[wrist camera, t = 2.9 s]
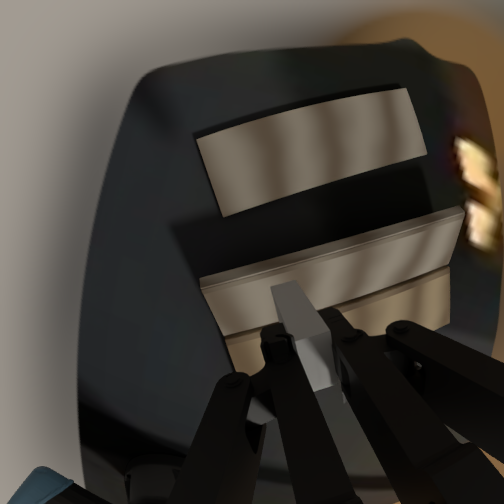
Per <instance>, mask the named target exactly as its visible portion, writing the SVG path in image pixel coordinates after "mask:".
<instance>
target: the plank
mask: <svg viewBox="0 0 504 504" xmlns="http://www.w3.org/2000/svg"><path fill="white" fill-rule="evenodd" d="M196 140H197V143H198V146H199V149H200V152H201V155H202V158H203V161H204V163H205V166H206V169H207V172H208V175H209V178H210V181H211V184H212V187H213V189H214V192H215V195H216V198H217V201H218V204H219V207H220V210H221V212H222V215H223V217H226V216H229V215H232V214H235V213H238V212H241V211H243V210H246V209H249V208H252V207H255V206H258V205H261V204H264V203H267V202H270V201H273V200H276V199H279V198H282V197H285V196H288V195H291V194H294V193H298V192H301V191H304V190H307V189H310V188H313V187H316V186H320V185H323V184H326V183H329V182H332V181H336V180H339V179H342V178H346V177H349V176H352V175H355V174H359V173H362V172H366V171H369V170H372V169H376V168H379V167H383V166H386V165H390V164H393V163H397V162H400V161H404V160H408V159H411V158H415V157H419V156H422V155H426V154H427V151H426V147H425V144H424V140H423V137H422V134H421V130H420V127H419V124H418V121H417V118H416V115H415V112H414V109H413V106H412V103H411V100H410V98H409V95H408V92H407V90H406V88H404V89H396V90H389V91H382V92H376V93H370V94H364V95H359V96H353V97H348V98H343V99H338V100H333V101H328V102H324V103H319V104H315V105H311V106H306V107H302V108H298V109H294V110H290V111H286V112H283V113H279V114H275V115H272V116H268V117H265V118H261V119H258V120H254V121H251V122H248V123H244V124H241V125H238V126H235V127H232V128H229V129H225V130H222V131H219V132H216V133H214V134H211V135H208V136H205V137H202V138H199V139H196Z"/></svg>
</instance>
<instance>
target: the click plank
mask: <svg viewBox="0 0 504 504" xmlns="http://www.w3.org/2000/svg"><path fill="white" fill-rule="evenodd" d="M464 216H465V211H464V210H463V209H462V208H461V207H460V206H455V207H452V208H449V209H445V210H442V211H438V212H435V213H432V214H428V215H425V216H421V217H418V218H414V219H411V220H407V221H404V222H400V223H397V224H394V225H390V226H387V227H383V228H380V229H376V230H373V231H369V232H365V233H362V234H358V235H355V236H351V237H348V238H344V239H341V240H337V241H334V242H330V243H326V244H323V245H319V246H316V247H312V248H308V249H305V250H301V251H298V252H294V253H290V254H287V255H283V256H279V257H276V258H272V259H268V260H265V261H261V262H257V263H254V264H250V265H246V266H243V267H239V268H235V269H232V270H228V271H224V272H220V273H217V274H213V275H209V276H205V277H202V278H200V288H201V291H202V293H203V294H204V297H205V299H206V301H207V303H208V305H209V307H210V309H211V311H212V313H213V315H214V317H215V319H216V321H217V323H218V325H219V327H220V329H221V331H222V333H223V335H224V336H226V335H230V334H234V333H238V332H241V331H245V330H249V329H253V328H257V327H260V326H264V325H268V324H271V323H275V322H279V320H278V316H277V312H276V308H275V304H274V300H273V296H272V292H271V289H270V287H271V286H274V285H278V284H282V283H285V282H289V281H292V280H296V282H297V283H298V284H299V286H300V287H301V289H302V290H303V292H304V293H305V295H306V296H307V297H308V299H309V300H310V302H311V303H312V305H313V306H314V308H315V309H316V310H319V309H323V308H326V307H329V306H332V305H335V304H339V303H342V302H345V301H348V300H351V299H354V298H357V297H360V296H363V295H366V294H369V293H372V292H375V291H378V290H380V289H383V288H386V287H389V286H392V285H394V284H397V283H400V282H403V281H405V280H408V279H411V278H413V277H416V276H419V275H421V274H424V273H427V272H429V271H432V270H434V269H437V268H439V267H442V266H444V265H447V264H449V261H450V258H451V255H452V252H453V250H454V247H455V244H456V241H457V237H458V234H459V231H460V228H461V225H462V221H463V218H464Z"/></svg>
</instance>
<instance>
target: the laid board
mask: <svg viewBox="0 0 504 504" xmlns="http://www.w3.org/2000/svg"><path fill="white" fill-rule="evenodd" d="M330 307H333V308H335V309H338V310H339V311H340V312H341V313H342V315H343V316H344V317H345V318H346V319H347V320H348V322H349V323H350V324H351V325H352V326H353V327H354V329H361V330H363V331H365V332H366V333H367V334H368V336H376V335H382V334H386V331H385V329H386V327H387V326H388V325H389V324H390V323H392V322H395V321H399V320H409V321H413V322H415V323H417V324H419V325H421V326H424V327H426V328H428V329H430V330H432V331H434V330H436V329H438V328H440V327H442V326H444V325H446V324H448V323H449V322H450V268H449V267H448V266H445V265H444V266H442V267H439V268H437V269H434V270H432V271H429V272H427V273H424V274H421V275H419V276H416V277H413V278H411V279H408V280H405V281H403V282H400V283H397V284H394V285H392V286H389V287H386V288H383V289H380V290H378V291H375V292H372V293H369V294H366V295H363V296H360V297H357V298H354V299H351V300H348V301H345V302H342V303H339V304H335V305H332V306H329V307H326V308H330ZM326 308H323V309H326ZM323 309H319V310H316V311H320V310H323ZM278 323H279V322H275V323H271V324H268V325H264V326H260V327H257V328H253V329H249V330H245V331H241V332H238V333H234V334H230V335H226V336H225V342H226V345H227V347H228V350H229V353H230V356H231V359H232V361H233V364H234V367H235V370H236V372H244V373H247V374H248V375H249V376H252V375H254V374H255V373H257V372H259V371H260V370H261V369H262V368H263V367H264V365H265V361H264V358H263V354H262V351H261V348H260V344H261V337H260V332H261V330H262V328H263V327H267V326H271V325H274V324H278Z"/></svg>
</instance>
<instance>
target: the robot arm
mask: <svg viewBox="0 0 504 504" xmlns="http://www.w3.org/2000/svg"><path fill="white" fill-rule="evenodd" d="M270 289H271V292H272V296H273V300H274V304H275V308H276V312H277V316H278V320H279V323H278V324H274V325H271V326H267V327H263V328H262V330H261V332H260V337H261V344H260V348H261V351H262V354H263V358H264V361H265V365H264V367H263V368H262V369H261V370H260V371H259V372H257V373H255V374H254V375H252V376H249V375H248V374H247V373H244V372H233V373H229V374H227V375H225V376H223V377H222V378H221V379H219V381H218V382H217V384H216V386H215V389H214V391H213V394H212V396H211V398H210V401H209V403H208V406H207V408H206V411H205V413H204V415H203V418H202V420H201V423H200V425H199V427H198V430H197V432H196V435H195V437H194V439H193V442H192V444H191V446H190V449H189V451H188V454H187V456H186V458H182V457H178V456H173V455H167V454H145V455H141V456H137V457H135V458H133V459H132V460H130V461H129V463H128V464H127V467H126V471H125V475H124V481H125V488H126V495H127V501H128V504H252V500H253V495H254V490H255V485H256V480H257V475H258V470H259V465H260V460H261V454H262V449H263V444H264V438H265V433H266V422H268V421H270V420H272V419H274V418H276V417H277V420H278V424H279V429H280V433H281V438H282V442H283V447H284V451H285V456H286V460H287V464H288V469H289V473H290V478H291V482H292V486H293V491H294V495H295V499H296V504H363V502H362V500H361V499H360V497H358V496H357V495H356V494H355V492H354V489H353V487H352V484H351V482H350V479H349V477H348V475H347V472H346V470H345V467H344V465H343V462H342V460H341V457H340V455H339V453H338V450H337V448H336V445H335V443H334V440H333V438H332V435H331V433H330V431H329V428H328V426H327V423H326V421H325V418H324V416H323V414H322V411H321V409H320V406H319V404H318V401H317V399H316V397H315V394H314V391H317V390H320V389H323V388H326V387H330V386H333V385H336V384H338V377H339V379H340V381H341V388H342V395H343V402H344V403H345V402H346V399H347V401H348V403H349V404H350V406H351V408H352V410H353V412H354V414H355V416H356V418H357V420H358V421H359V423H360V425H361V427H362V429H363V431H364V433H365V435H366V437H367V439H368V441H369V442H370V444H371V446H372V448H373V450H374V452H375V454H376V456H377V458H378V460H379V462H380V464H381V466H382V467H383V469H384V471H385V473H386V475H387V477H388V479H389V481H390V483H391V485H392V487H393V489H394V491H395V493H396V495H397V497H398V499H399V501H400V503H401V504H504V478H503V476H502V475H501V474H500V473H499V471H498V470H497V469H496V468H495V467H494V465H493V464H492V463H491V462H490V461H489V459H488V458H487V457H486V456H485V455H484V453H483V452H482V451H481V450H480V449H479V448H481V449H482V450H484V451H485V452H486V453H488V454H489V455H491V456H492V457H494V458H496V459H497V460H499V461H500V462H501V463H503V464H504V363H502V362H500V361H498V360H496V359H494V358H492V357H489V356H487V355H485V354H483V353H481V352H478V351H476V350H474V349H472V348H470V347H467V346H465V345H463V344H461V343H459V342H457V341H454V340H452V339H450V338H448V337H446V336H443V335H441V334H439V333H437V332H435V331H432V330H430V329H428V328H426V327H424V326H421V325H419V324H417V323H415V322H413V321H409V320H399V321H395V322H392V323H390V324H389V325H388V326H387V327H386V329H385V331H386V334H382V335H376V336H368V334H367V333H366V332H365V331H363V330H361V329H354V327H353V326H352V325H351V324H350V323H349V322H348V320H347V319H346V318H345V317H344V316H343V315H342V313H341V312H340V311H339V310H338V309H335V308H333V307H330V308H326V309H323V310H320V311H316V309H315V308H314V306H313V305H312V303H311V302H310V300H309V299H308V297H307V296H306V295H305V293H304V292H303V290H302V289H301V287H300V286H299V284H298V283H297V282H296V280H292V281H289V282H285V283H282V284H278V285H274V286H271V287H270ZM417 362H418V363H420V364H421V365H422V367H419V366H418V365H417ZM337 375H338V377H337ZM444 424H446V425H447V426H448V427H450V428H451V429H453V430H454V431H456V432H457V433H459V434H460V435H462V436H463V437H464V438H466V439H467V440H469V441H470V442H468V443H465V444H461V443H460V442H458V441H457V439H456V438H455V437H454V436H453V434H452V433H451V432H450V431H449V430H448V428H447V427H446V426H445V425H444ZM471 442H472V443H471ZM477 446H478V447H477ZM7 504H112V503H110V502H108V501H106V500H104V499H102V498H100V497H98V496H96V495H95V494H93V493H91V492H89V491H87V490H86V489H84V488H82V487H81V486H79V485H77V484H76V483H74V481H73V480H71V479H67V478H65V477H64V476H62V475H60V474H59V473H57V472H55V471H54V470H52V469H50V468H48V467H45V466H40V467H37V468H35V469H34V470H33V471H32V472H31V474H30V475H29V476H28V477H27V478H26V480H25V481H24V482H23V484H22V485H21V486H20V487H19V489H18V490H17V491H16V492H15V494H14V495H13V496H12V498H11V499H10V500H9V502H8V503H7Z"/></svg>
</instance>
